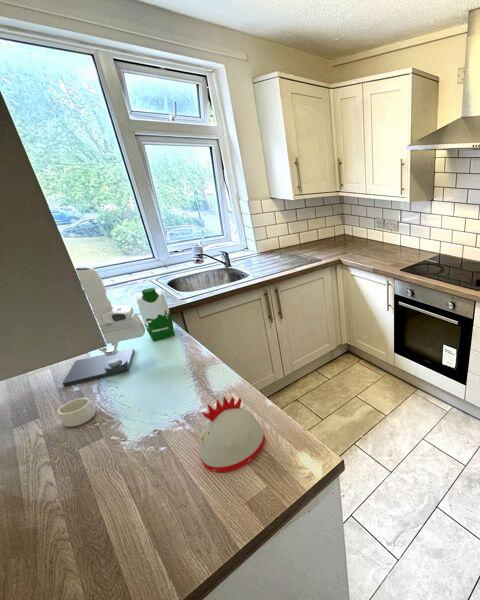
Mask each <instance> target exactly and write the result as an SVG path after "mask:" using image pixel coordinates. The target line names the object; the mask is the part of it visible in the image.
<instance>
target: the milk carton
mask: <svg viewBox="0 0 480 600" xmlns="http://www.w3.org/2000/svg"><path fill="white" fill-rule="evenodd" d="M135 298H136V303H137V305H138V310H139V313H140V315H141V319H142V322H143V325H144V328H145V330H146V331H147V333H148V335H149V336H150V338H151V340H152V342H153V343H154V342H157V341H160V340H165V339H168V338H172V337H175V329H174V322H173V317H172V314H171V311H170V308H169V305H168V302H167V300H166V296H165V293H164V292H163V291H162V289H161V288H154V287H150V288H149V287H148V288H145V289H143V290H142V291H141V292H136V297H135Z"/></svg>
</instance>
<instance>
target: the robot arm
mask: <svg viewBox="0 0 480 600" xmlns="http://www.w3.org/2000/svg"><path fill="white" fill-rule="evenodd" d="M73 265H74V266H75V268H76V270H77V273H78V276H79V278H80V281H81V283H82V286H83V288H84V291H85V293H86V295H87V297H88V300H89V302H90V304H91V306H92V309H93V312H94V315H95V317H96V319H97V321H98V323H99V326H100V328H101V331H102V333H103V335H104V338H105V340H106V343H107V344H106V345H108V344H111V346H112V347H111V348H107V347H105V348H103V349H99V351H100V352H101V353H103V355H105V356H111V355H115V354H118V352H119V350H118V345H119V343H120V342H123V341H128V340H133V339H138V338H143V336H144V335H145V333H146V327H145V324H144V322H143V320H141V319H142V318H140V316H138V314H136V313H134V308H133V306H132V305H131V306H130V305H118V304H112V301H110V299H109V298H108V296H107V290H106V286H105V285H104V282H103V280H102V278H101V276H100V274H99V273H98V271H97V270H96V269H95V268H93V267H91V266H88V265H82V264H81V265H80V264H73Z"/></svg>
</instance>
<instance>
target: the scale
mask: <svg viewBox="0 0 480 600" xmlns="http://www.w3.org/2000/svg"><path fill="white" fill-rule="evenodd" d="M135 352H136V351H135V348H133V347H132V348H128V349H123V350H120V351H119V350H118V354H115V355H111V356H105V354H101V355H95V356H91V357H86V358H82V359H77V360H75V361H74V362H73V364H72V366H71V367H70V370H69V372H68V373H67V374H66V376H65V378H64V380H63V381H62V385H63V387H64V388H65V387H70V386H74V385H79V384H82V383H86V382H90V381H91V382H92V381H94V380H98V379H103V378H108V377H111V376H115V375H119V374H120V375H121V374H123V373H128V372H130V369H131V366H132V363H133V359H134V355H135ZM115 358H119V359H120V361H121V364H119V365H117V366H113V367H111V366H110V364H109V361H110V360H112V359H115Z"/></svg>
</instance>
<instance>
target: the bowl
mask: <svg viewBox="0 0 480 600" xmlns="http://www.w3.org/2000/svg"><path fill="white" fill-rule="evenodd" d="M96 412H97V411H96V410H95V408H94V405H93V403H92V401H91V399H90V398H88V397H79V398H75V399H72V400H70V401H67V402H65V403H64V404H62V405H61V406H59V408H58V409H57V411H56V413H57V414H58V416H59V418H60V420H61V422H62V424H63V425H64V426H65V427H71V428H73V427H78V426H81V425H84V424H85V423H87V422H89V421H90V420H92V419H93V418H94V416H95V415H96Z"/></svg>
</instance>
